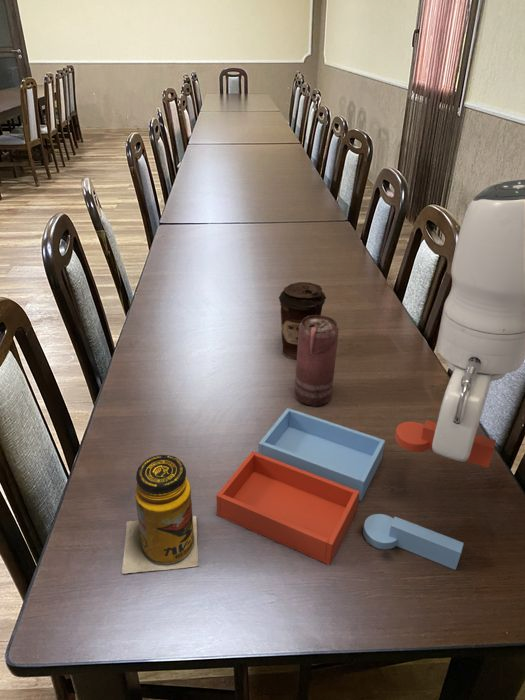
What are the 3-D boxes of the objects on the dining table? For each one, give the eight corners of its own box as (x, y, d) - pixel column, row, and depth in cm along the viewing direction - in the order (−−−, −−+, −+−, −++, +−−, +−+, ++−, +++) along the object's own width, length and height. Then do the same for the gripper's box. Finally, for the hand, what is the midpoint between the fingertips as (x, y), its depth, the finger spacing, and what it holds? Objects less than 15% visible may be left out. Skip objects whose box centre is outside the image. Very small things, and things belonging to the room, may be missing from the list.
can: (291, 405, 87) (295, 330, 80) (298, 383, 93) (303, 311, 85) (328, 411, 86) (336, 335, 79) (333, 389, 91) (341, 316, 84)
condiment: (198, 566, 61) (193, 490, 55) (121, 574, 60) (107, 498, 54) (196, 516, 67) (191, 443, 61) (127, 523, 66) (115, 449, 60)
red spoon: (492, 452, 65) (497, 433, 63) (486, 475, 61) (492, 455, 60) (400, 424, 69) (403, 406, 68) (390, 444, 66) (393, 425, 64)
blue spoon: (460, 551, 63) (466, 533, 62) (453, 579, 60) (458, 562, 59) (369, 515, 68) (372, 498, 66) (357, 540, 65) (360, 523, 63)
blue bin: (382, 458, 77) (385, 440, 75) (361, 501, 70) (364, 481, 68) (286, 425, 83) (287, 407, 81) (258, 462, 76) (258, 443, 74)
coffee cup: (325, 363, 98) (332, 299, 92) (281, 365, 97) (284, 300, 91) (315, 339, 106) (320, 278, 99) (273, 341, 105) (276, 280, 98)
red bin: (356, 510, 68) (359, 491, 67) (329, 565, 61) (332, 544, 60) (252, 469, 74) (252, 450, 73) (216, 515, 67) (216, 495, 66)
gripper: (501, 398, 47) (470, 509, 54) (523, 307, 63) (497, 403, 70) (429, 379, 50) (408, 488, 57) (468, 297, 65) (447, 390, 72)
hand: (457, 440), depth 64 cm, fingers closed on red spoon
